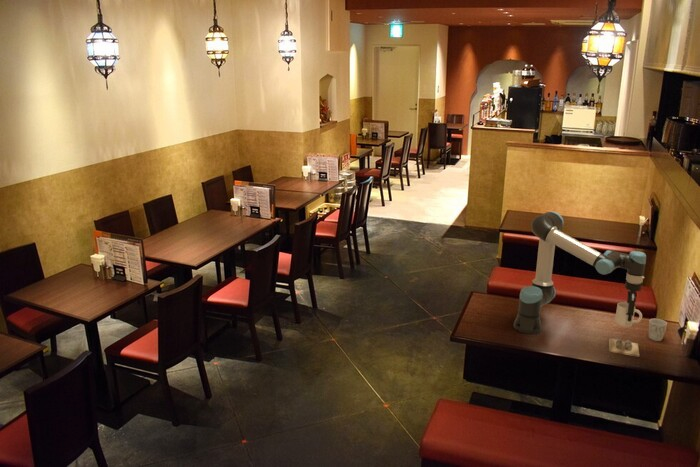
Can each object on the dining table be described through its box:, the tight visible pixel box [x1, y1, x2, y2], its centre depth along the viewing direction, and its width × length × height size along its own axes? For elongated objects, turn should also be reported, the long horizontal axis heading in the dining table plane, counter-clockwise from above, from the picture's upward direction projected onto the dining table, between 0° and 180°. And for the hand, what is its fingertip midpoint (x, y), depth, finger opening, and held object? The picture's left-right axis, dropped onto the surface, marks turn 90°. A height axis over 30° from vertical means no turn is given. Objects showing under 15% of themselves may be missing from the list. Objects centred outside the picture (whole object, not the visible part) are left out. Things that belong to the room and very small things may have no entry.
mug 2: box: [648, 318, 668, 342], centre depth 304 cm, size 11×8×10 cm
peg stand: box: [608, 338, 640, 358], centre depth 293 cm, size 14×14×4 cm
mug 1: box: [614, 301, 643, 328], centre depth 288 cm, size 12×8×10 cm
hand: (627, 322), depth 289 cm, fingers closed on mug 1, 8 cm apart
